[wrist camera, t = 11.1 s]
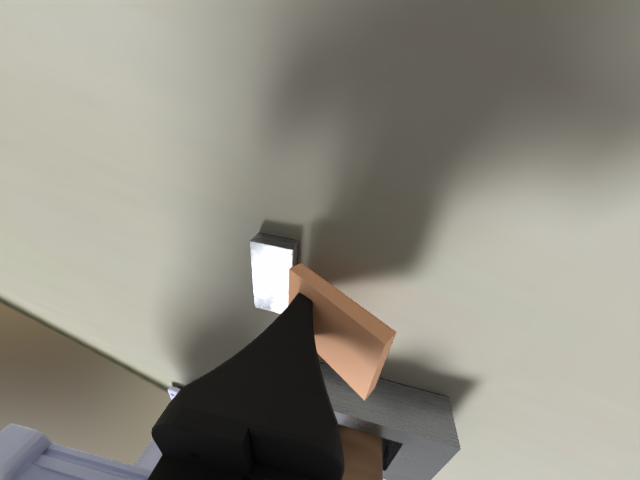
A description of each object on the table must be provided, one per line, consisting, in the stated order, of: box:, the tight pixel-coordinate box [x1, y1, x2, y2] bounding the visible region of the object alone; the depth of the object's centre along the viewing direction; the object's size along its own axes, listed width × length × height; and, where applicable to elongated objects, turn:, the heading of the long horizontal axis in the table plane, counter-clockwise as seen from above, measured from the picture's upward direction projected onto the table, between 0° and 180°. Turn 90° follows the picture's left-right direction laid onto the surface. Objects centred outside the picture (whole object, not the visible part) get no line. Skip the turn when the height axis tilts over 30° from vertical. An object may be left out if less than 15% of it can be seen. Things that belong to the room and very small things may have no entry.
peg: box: [339, 425, 383, 480], centre depth 17 cm, size 3×3×7 cm
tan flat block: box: [288, 263, 396, 401], centre depth 11 cm, size 4×1×6 cm
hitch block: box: [319, 362, 460, 480], centre depth 18 cm, size 8×11×3 cm
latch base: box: [250, 233, 298, 314], centre depth 14 cm, size 5×2×1 cm, turn 175°
